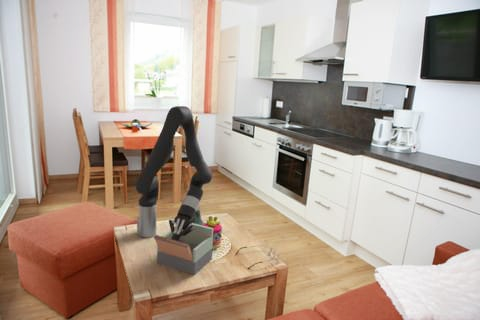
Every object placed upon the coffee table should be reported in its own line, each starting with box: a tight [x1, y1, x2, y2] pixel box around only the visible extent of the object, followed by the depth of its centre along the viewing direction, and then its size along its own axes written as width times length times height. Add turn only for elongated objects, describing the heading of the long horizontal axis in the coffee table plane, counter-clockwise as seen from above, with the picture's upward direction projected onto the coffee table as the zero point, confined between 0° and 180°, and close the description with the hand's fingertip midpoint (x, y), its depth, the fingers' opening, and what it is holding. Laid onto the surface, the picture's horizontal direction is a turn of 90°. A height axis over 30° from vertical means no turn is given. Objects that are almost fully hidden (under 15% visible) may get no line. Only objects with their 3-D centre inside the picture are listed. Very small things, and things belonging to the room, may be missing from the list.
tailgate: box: [153, 234, 193, 261], centre depth 149 cm, size 1×17×10 cm, turn 66°
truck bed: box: [156, 223, 213, 276], centre depth 159 cm, size 16×20×16 cm
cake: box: [202, 215, 223, 251], centre depth 176 cm, size 10×11×15 cm
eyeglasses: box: [234, 242, 281, 270], centre depth 167 cm, size 16×19×5 cm
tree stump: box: [192, 205, 206, 225], centre depth 193 cm, size 18×20×18 cm
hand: (173, 243), depth 148 cm, fingers closed
